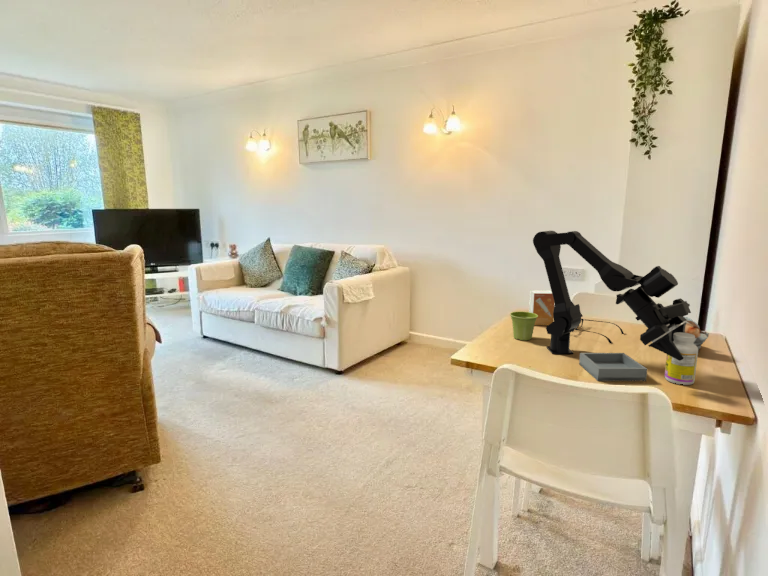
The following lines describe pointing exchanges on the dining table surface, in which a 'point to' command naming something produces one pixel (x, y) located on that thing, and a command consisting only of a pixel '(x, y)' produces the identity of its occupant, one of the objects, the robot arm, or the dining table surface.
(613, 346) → the dining table surface
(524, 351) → the dining table surface
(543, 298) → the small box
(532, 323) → the plant pot
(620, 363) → the tray
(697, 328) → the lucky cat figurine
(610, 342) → the eyeglasses
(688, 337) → the supplement bottle
